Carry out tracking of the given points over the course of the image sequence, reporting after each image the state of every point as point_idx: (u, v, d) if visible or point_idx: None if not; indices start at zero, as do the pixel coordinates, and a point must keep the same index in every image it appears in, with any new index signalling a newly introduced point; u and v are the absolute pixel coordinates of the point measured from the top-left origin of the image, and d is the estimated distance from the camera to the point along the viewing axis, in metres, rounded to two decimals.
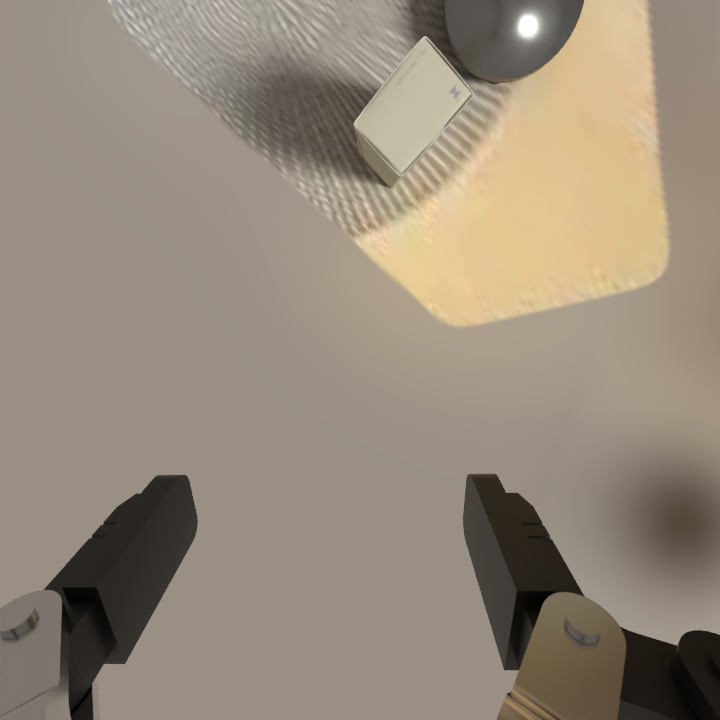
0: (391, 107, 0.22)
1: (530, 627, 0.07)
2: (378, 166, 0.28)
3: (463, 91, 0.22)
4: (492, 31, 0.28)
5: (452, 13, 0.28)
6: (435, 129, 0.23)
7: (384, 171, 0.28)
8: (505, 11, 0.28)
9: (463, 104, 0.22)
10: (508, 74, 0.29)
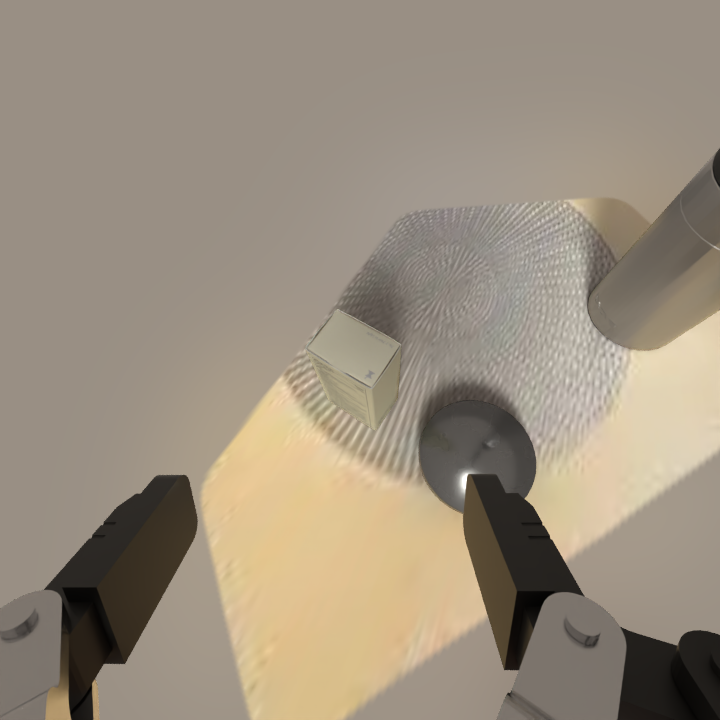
0: (352, 332, 0.28)
1: (530, 627, 0.07)
2: None
3: (371, 380, 0.27)
4: (449, 443, 0.33)
5: (452, 408, 0.35)
6: (342, 366, 0.27)
7: None
8: (465, 449, 0.33)
9: (363, 383, 0.27)
10: (424, 465, 0.33)
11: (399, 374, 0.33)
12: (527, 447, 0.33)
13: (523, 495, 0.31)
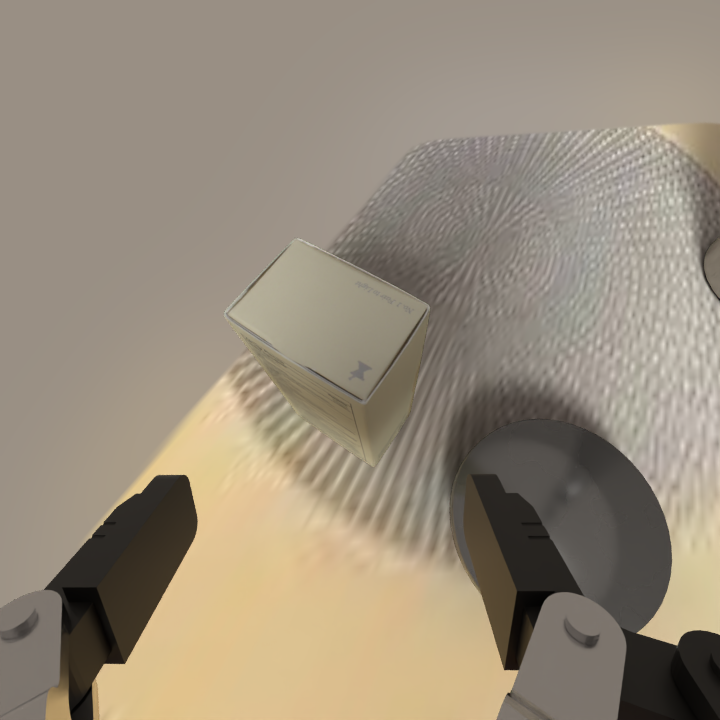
0: (325, 281, 0.13)
1: (530, 627, 0.07)
2: None
3: (364, 384, 0.12)
4: None
5: (509, 433, 0.20)
6: (299, 353, 0.12)
7: None
8: (536, 510, 0.18)
9: (345, 391, 0.12)
10: (462, 541, 0.18)
11: (418, 372, 0.18)
12: (650, 507, 0.18)
13: (654, 604, 0.16)
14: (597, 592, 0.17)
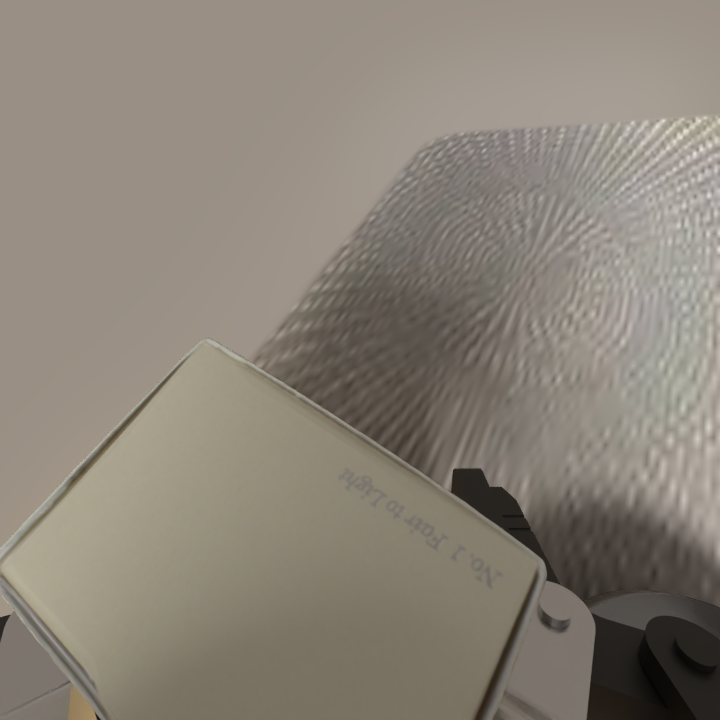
0: (263, 466, 0.05)
1: None
2: None
3: None
4: None
5: None
6: None
7: None
8: None
9: None
10: None
11: None
12: None
13: None
14: None
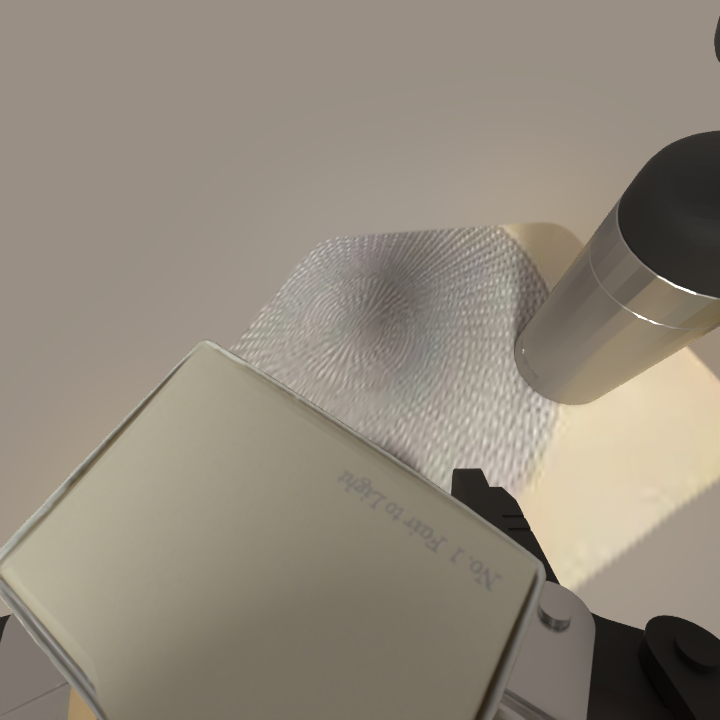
0: (262, 468, 0.05)
1: None
2: None
3: None
4: None
5: None
6: None
7: None
8: None
9: None
10: None
11: None
12: None
13: None
14: None
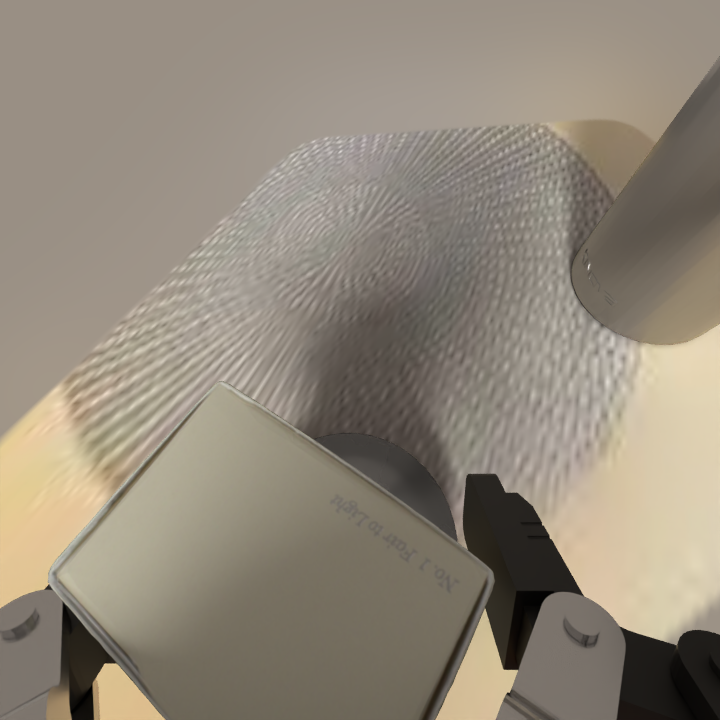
0: (269, 493, 0.06)
1: (530, 627, 0.07)
2: None
3: None
4: None
5: None
6: (197, 705, 0.05)
7: None
8: None
9: None
10: None
11: None
12: (444, 529, 0.17)
13: None
14: None
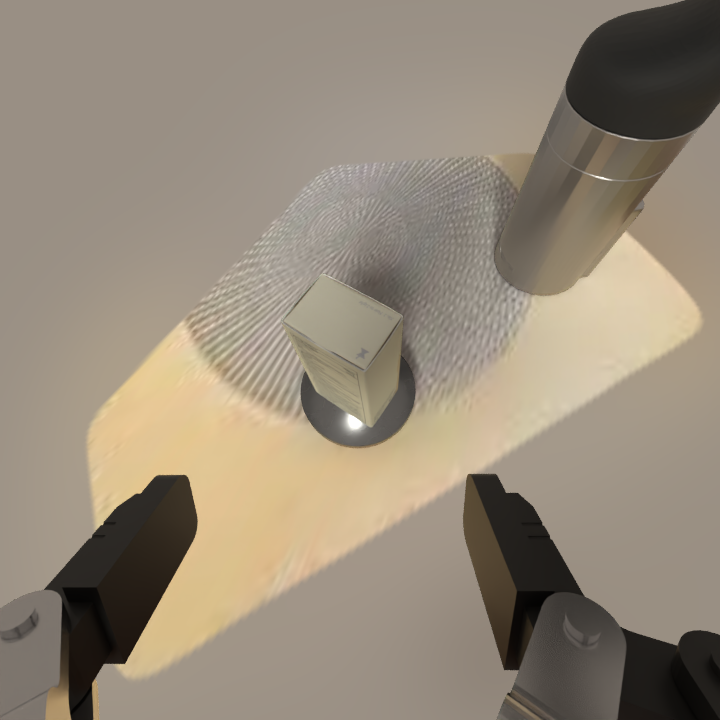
0: (341, 301, 0.22)
1: (530, 627, 0.07)
2: None
3: (364, 360, 0.21)
4: None
5: None
6: (327, 343, 0.21)
7: None
8: None
9: (354, 365, 0.21)
10: (303, 398, 0.33)
11: None
12: (408, 381, 0.33)
13: (398, 425, 0.31)
14: None
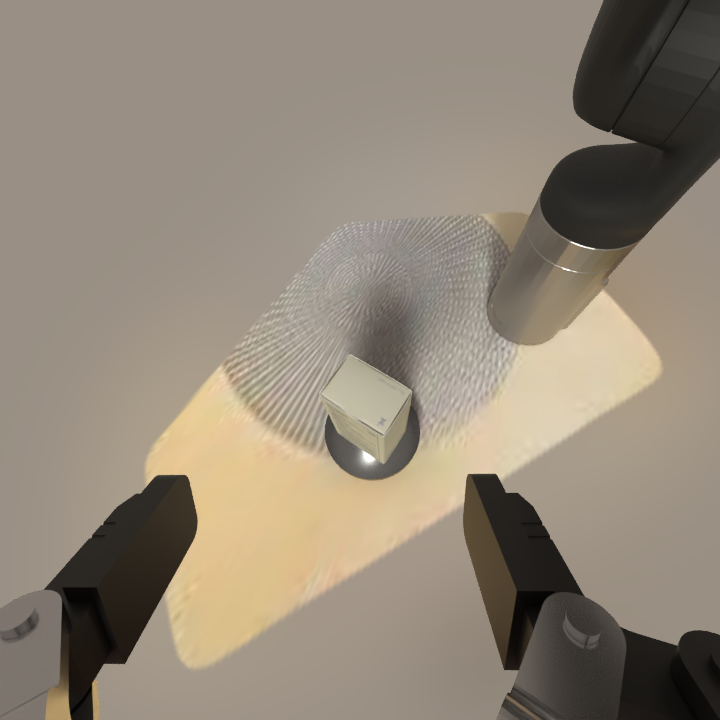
0: (364, 377, 0.29)
1: (530, 627, 0.07)
2: None
3: (383, 427, 0.27)
4: None
5: None
6: (355, 413, 0.28)
7: None
8: None
9: (375, 430, 0.27)
10: (327, 438, 0.39)
11: (408, 413, 0.33)
12: (414, 424, 0.40)
13: (406, 462, 0.38)
14: None
